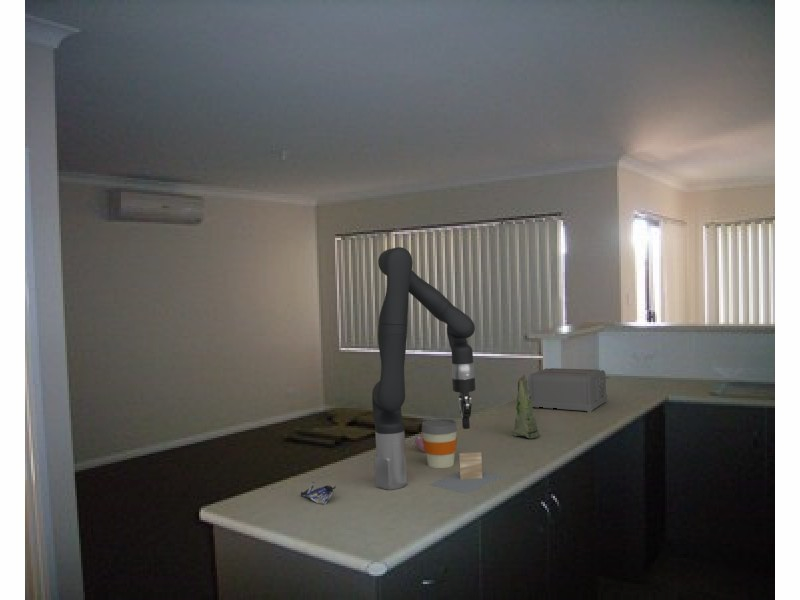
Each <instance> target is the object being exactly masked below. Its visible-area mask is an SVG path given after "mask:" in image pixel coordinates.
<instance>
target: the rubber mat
mask: <svg viewBox="0 0 800 600" xmlns="http://www.w3.org/2000/svg"><path fill="white" fill-rule="evenodd" d="M502 478H504V476H502V475H499V474H498V475H497V474H492V473H487V472H483V471H482V478H475V479H460V471H458V472H456V473H453V474H451V475H449V476H446V477H444V478H441V479H438V480H437V481H434V482H432V483H429V484H428V485H429V486H431V487H437V488H440V489H445V490H449V491H454V492H457V493H462V494H466V495H467V494H470V493H472V492H475V491H478V490H479V489H481V488H483V487H486V486H487V485H490V484H492V483H494V482H496V481H498V480H501V479H502Z"/></svg>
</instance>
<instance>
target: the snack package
mask: <svg viewBox="0 0 800 600" xmlns="http://www.w3.org/2000/svg"><path fill="white" fill-rule="evenodd" d="M315 484H316V482H315V481H312V482H311V484H310V486H309V488H307V489H306V490H305V491H300V496H301V497H305V498H308V499H310V500H312V501H313V502H315V503H316V504H322V505H327V503H328V502H329V500H330V498H331V497H332V495H333V493H334V491H335V489H336V488H337V487H336V485H335V486H334V487H332V486H331V485H329V484H328V485H325V486H322V487H318V488H315V489H313V488H314V485H315ZM312 489H313V490H312ZM318 498H320V499H321V503H320V502H319V499H318Z"/></svg>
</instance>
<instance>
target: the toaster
mask: <svg viewBox="0 0 800 600" xmlns="http://www.w3.org/2000/svg"><path fill="white" fill-rule="evenodd" d="M609 379H610V376H606V371H605V370H604V369H602V370H601V369H588V368H587V369H586V368H585V369H584V368H558V367H557V368H555V367H554V368H553V367H551V368H544V369H541V370H538V371H535V372H533V373H530V374H529V375H528V380H527V386H528V391H529V394H530V396H531V403H532V407H534V408H539V407H543V408H542V409H553V408H557V409H556V410H567V411H568V410H571V411H581V412H582V411H585V412H586V411H589V412H591V411H592V412H593V411H594V410H595V409H597V408H598V407H600V406H601V405H603V404H604V403H607V402H608V395H607V385H606V384H607V383H606V380H609ZM606 401H607V402H606ZM589 412H588V413H589ZM592 412H591V413H592Z"/></svg>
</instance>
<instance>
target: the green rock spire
mask: <svg viewBox="0 0 800 600" xmlns="http://www.w3.org/2000/svg"><path fill="white" fill-rule="evenodd" d="M517 382H518V383H517V399H516V401H517V405H516V408H515V409H516V414H517V415H516V416H515V423H514V430H513V436H514V437H523V438H528V439H535V438H538V437H540V433H539V429H538V428H539V427H538V425H537V419H536V416H535V412H534V408H533V407H532V403H531V396H530V394H529V387H528V380H527V377H526V375H525V374H523V376H521V377H520V378H519V379H518V381H517Z"/></svg>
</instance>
